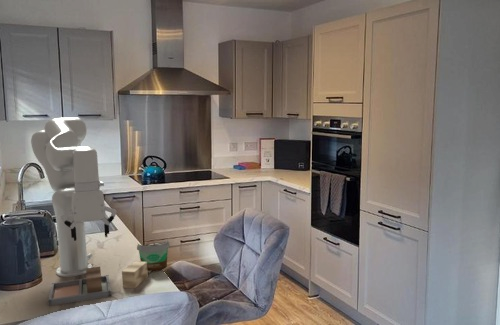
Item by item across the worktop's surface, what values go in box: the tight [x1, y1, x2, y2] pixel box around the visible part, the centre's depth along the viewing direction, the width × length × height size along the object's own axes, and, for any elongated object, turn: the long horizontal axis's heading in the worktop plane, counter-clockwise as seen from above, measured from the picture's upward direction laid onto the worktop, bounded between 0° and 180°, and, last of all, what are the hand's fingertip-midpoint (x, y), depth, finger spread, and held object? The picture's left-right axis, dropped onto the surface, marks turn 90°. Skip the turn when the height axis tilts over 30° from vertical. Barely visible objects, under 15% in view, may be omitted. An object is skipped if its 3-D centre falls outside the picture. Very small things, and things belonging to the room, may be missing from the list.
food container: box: [136, 238, 171, 273], centre depth 168 cm, size 12×6×10 cm, turn 114°
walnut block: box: [85, 266, 102, 293], centre depth 151 cm, size 10×4×6 cm, turn 20°
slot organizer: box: [48, 274, 112, 306], centre depth 149 cm, size 15×18×2 cm
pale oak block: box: [121, 260, 149, 289], centre depth 157 cm, size 10×4×6 cm, turn 168°
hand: (90, 237), depth 148 cm, fingers open, 9 cm apart
